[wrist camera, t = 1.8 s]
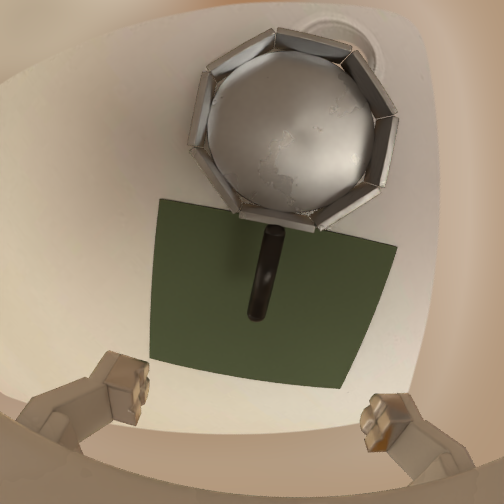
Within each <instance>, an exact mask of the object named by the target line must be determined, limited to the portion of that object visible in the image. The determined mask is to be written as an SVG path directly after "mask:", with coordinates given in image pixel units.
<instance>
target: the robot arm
mask: <svg viewBox="0 0 504 504" xmlns="http://www.w3.org/2000/svg"><path fill="white" fill-rule="evenodd" d="M148 373H149V363H148V362H146V361H142V360H139V359H136V358H132V357H129V356H126V355H123V354H119V353H116V352H113V351H110V350H109V351H107V352H106V353H105V354H104V356H103V357H102V359H101V360H100V362H99V363H98V365H97V366H96V368H95V369H94V371H93V372H92V374H91V375H90V377H89V378H86V377H84V378H81V379H79V380H76V381H74V382H71V383H69V384H66V385H63V386H61V387H58V388H56V389H53V390H51V391H48V392H45V393H43V394H40V395H38V396H35V397H32V398H31V400H30V401H29V402H28V404H27V405H26V406H25V408H24V409H23V410H22V412H21V413H20V415H19V416H18V417H17V419H16V420H13V419H11V418H10V417H8V416H7V415H5V414H3V413H2V412H0V504H504V457H502V458H499V459H497V460H494V461H492V462H489V463H487V464H484V465H481V466H479V467H475V465H474V463H473V461H472V459H471V457H470V455H469V453H468V451H467V450H466V448H465V447H464V446H463V445H461V444H460V443H458V442H457V441H455V440H454V439H453V438H451V437H450V436H448V435H447V434H445V433H444V432H442V431H441V430H440V429H438V428H437V427H435V426H434V425H432V424H431V423H430V422H428V421H426V420H425V421H424V420H423V418H422V417H421V414H420V413H419V410H418V409H417V406H416V405H415V403H414V401H413V399H412V397H411V395H409V394H408V393H397V394H396V393H392V394H374V395H373V396H372V397H371V399H370V400H369V402H370V405H369V406H368V407H366V408H365V409H364V410H363V412H362V414H361V418H360V427H361V431H362V432H363V433H364V434H366V437H365V439H364V440H365V444H366V447H367V450H368V452H386V451H387V453H388V454H389V455H390V457H391V458H392V459H393V460H394V461H395V462H396V463H397V464H398V465H399V466H400V467H401V468H402V469H403V470H404V471H405V472H406V473H407V474H408V475H409V476H410V477H411V478H412V479H413V480H414V481H413V482H412V483H411V484H409V485H408V486H407V487H403V488H398V489H392V490H386V491H379V492H372V493H365V494H355V495H345V496H330V497H267V496H252V495H241V494H232V493H224V492H217V491H210V490H204V489H199V488H193V487H188V486H183V485H178V484H174V483H169V482H165V481H161V480H157V479H154V478H150V477H146V476H142V475H139V474H136V473H133V472H129V471H126V470H123V469H120V468H117V467H114V466H111V465H108V464H105V463H103V462H100V461H97V460H95V459H92V458H90V457H87V456H85V455H83V452H82V450H81V448H80V445H79V442H81V441H83V440H84V439H86V438H87V437H89V436H91V435H92V434H94V433H95V432H97V431H98V430H100V429H101V428H103V427H104V426H106V425H108V424H109V423H111V422H112V421H113V420H116V421H119V422H123V423H126V424H130V425H133V426H136V425H137V422H138V420H139V417H140V415H141V406H142V405H144V404H145V402H146V400H147V397H148V392H149V385H150V380H149V378H148V377H147V375H148Z"/></svg>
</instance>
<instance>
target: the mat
mask: <svg viewBox="0 0 504 504" xmlns="http://www.w3.org/2000/svg"><path fill="white" fill-rule="evenodd" d="M239 214H240V213H237V212H236V213H235V214H233V213H232V212H231V211H226V210H221V209H215V208H210V207H204V206H199V205H193V204H187V203H182V202H176V201H170V200H164V199H160V201H159V210H158V218H157V228H156V238H155V249H154V261H153V275H152V292H151V314H150V358H151V359H155V360H159V361H163V362H167V363H171V364H175V365H180V366H184V367H189V368H193V369H198V370H203V371H208V372H213V373H218V374H224V375H229V376H235V377H241V378H247V379H253V380H260V381H267V382H275V383H283V384H291V385H300V386H311V387H322V388H336V389H340V388H341V386H342V384H343V382H344V380H345V378H346V376H347V374H348V372H349V370H350V368H351V365H352V363H353V361H354V359H355V357H356V355H357V352H358V350H359V348H360V346H361V343H362V341H363V339H364V337H365V334H366V332H367V330H368V327H369V325H370V322H371V320H372V317H373V315H374V312H375V310H376V307H377V305H378V302H379V299H380V297H381V294H382V291H383V289H384V286H385V283H386V280H387V278H388V275H389V272H390V269H391V266H392V263H393V260H394V257H395V254H396V251H397V248H398V247H395V246H391V245H387V244H383V243H378V242H374V241H370V240H365V239H361V238H357V237H352V236H348V235H343V234H339V233H334V232H330V231H325V230H322V231H321V232H320V231H319V230H318V229H316V228H315V231H314V233H311V232H306V231H301V230H296V229H291V228H287V227H284V228H285V231H286V235H285V239H284V244H283V248H282V252H281V256H280V261H279V265H278V269H277V273H276V277H275V281H274V285H273V290H272V294H271V298H270V302H269V306H268V310H267V314H266V317H265V318H264V320H263V321H261V322H257V323H256V322H252V321H251V320H249V318H248V316H247V309H248V304H249V299H250V295H251V290H252V286H253V281H254V276H255V272H256V267H257V262H258V258H259V253H260V248H261V243H262V239H263V234H264V230H265V227H266V226H267V225H268V224H267V223H262V222H256V221H251V220H246V219H241V218H239Z"/></svg>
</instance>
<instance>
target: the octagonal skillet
mask: <svg viewBox="0 0 504 504" xmlns="http://www.w3.org/2000/svg"><path fill="white" fill-rule="evenodd" d="M275 34H276V40H275ZM274 42H275V47H274ZM274 48H275V49H280V50H285V51H276V52H271V53H267V52H269V51H270V50H272V49H274ZM351 51H352V46H351V45H348V44H344V43H341V42H338V41H334V40H331V39H327V38H323V37H319V36H316V35H312V34H307V33H303V32H299V31H294V30H289V29H284V28H279V27H278V28H277V33H275V32H274V31H273V29H269V30H267V31H265V32H263V33H261V34H259V35H258V36H256V37H254V38H252V39H250V40H249V41H247V42H245V43H243V44H242V45H240V46H238V47H236V48H235V49H233V50H231V51H230V52H228V53H227V54H225V55H223V56H222V57H220V58H218V59H217V60H215V61H214V62H212V63H211V64H209V65H208V66H207V69H208V70H209V72H202V75H201V80H200V84H199V88H198V93H197V98H196V102H195V107H194V112H193V117H192V122H191V127H190V133H189V138H188V144H187V145H190V146H199V147H194V148H192V149H191V150H190V151H189V153H190V154H191V155H192V157H193V158H194V160H195V161H196V162H197V164H198V165H199V167H200V168H201V169H202V171H203V172H204V174H205V175H206V177H207V178H208V179H209V181H210V182H211V184H212V185H213V186H214V188H215V189H216V191H217V192H218V194H219V195H220V196H221V198H222V199H223V201H224V202H225V203H226V205H227V206H228V208H229V209H230V211H231V212H232V213H233V214H235V213H236V212H238V211H239V210H240V207H241V204H242V201H241V199H240V198H239V196H238V195H237V193H236V192H238V193H239V194H240V195H242V196H243V197H244V198H246V199H248V200H249V201H251V202H253V203H255V204H257V205H253V204H248V203H243V204H242V207H241V210H240V214H239V218H241V219H246V220H251V221H256V222H262V223H267V224H268V225H267V226H266V227H265V230H264V234H263V239H262V243H261V248H260V253H259V258H258V262H257V267H256V272H255V276H254V281H253V286H252V290H251V295H250V299H249V304H248V309H247V316H248V318H249V320H251V321H252V322H256V323H257V322H261V321H263V320H264V318H265V317H266V314H267V310H268V306H269V302H270V298H271V294H272V290H273V285H274V281H275V277H276V273H277V269H278V265H279V261H280V256H281V252H282V248H283V244H284V239H285V235H286V231H285V228H284V227H287V228H291V229H296V230H301V231H306V232H311V233H314V231H315V227H317V228H318V230H319V231H320V232H321V231H322V230H324V229H326V228H327V227H329V226H330V225H332V224H334V223H335V222H337V221H338V220H340V219H341V218H343V217H345V216H346V215H348V214H349V213H351V212H352V211H354V210H356V209H357V208H359V207H360V206H362V205H363V204H365V203H366V202H368V201H370V200H371V199H373V198H374V197H376V196H377V195H379V194H380V193H381V191H380V189H379V187H377V186H380V187H383V188H385V185H386V181H387V177H388V172H389V168H390V163H391V159H392V154H393V149H394V144H395V139H396V134H397V128H398V122H399V118H398V117H395V116H391V115H394V114H396V113H397V112H398V111H397V110H396V108H395V106H394V104H393V103H392V101H391V99H390V98H389V96H388V94H387V93H386V91H385V90H384V88H383V86H382V85H381V83H380V82H379V80H378V79H377V77H376V76H375V74H374V73H373V71H372V70H371V68H370V67H369V65H368V64H367V62H366V61H365V60H364V58H363V57H362V55H361V54H360V53H359V51H358V50H356V51H354V52H352V53H351ZM265 53H266V54H265ZM350 53H351V54H350ZM349 54H350V55H349ZM348 55H349V56H348ZM347 56H348V57H347ZM346 57H347V58H346ZM345 58H346V59H345ZM344 59H345V60H344ZM343 60H344V61H343ZM342 61H343V62H342ZM332 62H334V63H337V64H340V63H341V62H342V64H341V66H342V68H343V69H344V71H343V70H342V69H341V68H340V67H338V66H337V65H335V64H333V63H332ZM210 73H211V74H210ZM212 76H213V77H212ZM227 76H228V77H227ZM225 77H227V78H226V79H225V80H224V81H223V83H222V84H221V85H220V87H219V89H218V90H217V92H216V93H215V89H216V85H217V83H216V82H219V81H220V80H222V79H224V78H225ZM214 79H215V80H216V81H215V80H214ZM214 94H215V96H214ZM371 112H372V113H373V115H374V117H375V118H376V119H378V118H382V117H386V118H382V119H378V120H376V123H375V128H374V122H373V117H372V113H371ZM387 116H391V117H387ZM206 133H207V138H208V144H209V148H210V152H211V155H212V158H213V159H212V158H211V156H210V155H209V154H208V152H207V151H206V149H205V148H202V147H204V144H205V138H206ZM213 160H214V161H213ZM365 171H366V172H365ZM364 172H365V176H364V180H363V181H364V182H361V183H360V184H358V185H357V186H355V185H356V184H357V183H358V181H359V180H360V179H361V177H362V176H363V174H364ZM365 182H367V183H365ZM368 183H370V184H368ZM371 184H373V185H371ZM374 185H376V186H374ZM354 186H355V187H354ZM353 187H354V188H353ZM234 190H235V191H236V192H235V191H234ZM258 205H259V206H258ZM316 209H319V210H317V211H316V212H314V213H312V214H311V215H309V216H307V215H302V214H297V213H299V212H308V211H312V210H316ZM309 217H310V218H311V219H310V218H309ZM311 220H312V221H311ZM314 224H315V225H314Z"/></svg>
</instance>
